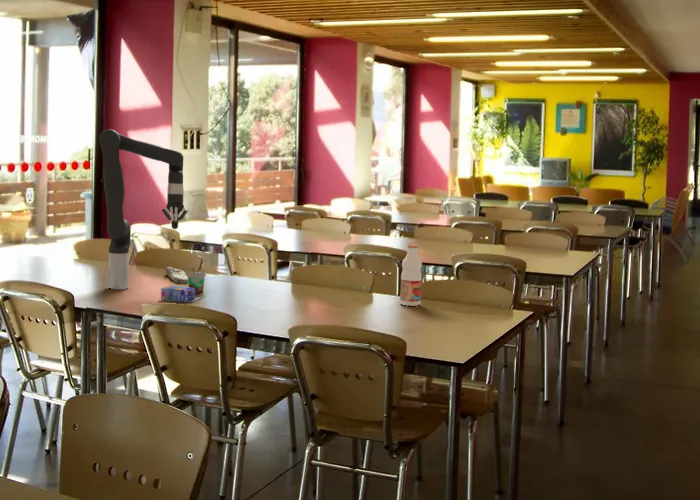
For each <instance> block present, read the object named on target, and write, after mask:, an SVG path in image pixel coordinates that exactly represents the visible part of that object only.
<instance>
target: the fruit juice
mask: <svg viewBox="0 0 700 500" xmlns="http://www.w3.org/2000/svg"><path fill="white" fill-rule="evenodd" d="M418 249H419V245H418V244H413V243H412V244H411V243H410V244H407V253H406V256H405V257H404V258H403V259H402V263H401V267H402V272H401V275H400V291H399V292H400V296H399V304H403V305H419V304H420V305H421V300H422V299H421V297H422V272H421V270H422V267H423V263H422V260H421V258H420V257H419V253H418Z"/></svg>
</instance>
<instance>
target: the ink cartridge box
mask: <svg viewBox="0 0 700 500" xmlns="http://www.w3.org/2000/svg"><path fill="white" fill-rule="evenodd" d="M196 292H197V291H196ZM195 297H196V294H195V288H192V287H189V286H180V285H179V286H178V285H167V286H164V287H161V288H160V300H162V301H163V300H164V301H166V300H172V301H171V302H177V301H182V302H181V303H186V302H185V301H188V300H192V299H195Z"/></svg>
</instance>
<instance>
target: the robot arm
mask: <svg viewBox="0 0 700 500" xmlns="http://www.w3.org/2000/svg"><path fill="white" fill-rule="evenodd" d="M99 144H100V149H101V153H102V159H103V167H102V168H103V172H102V173H103V174H102V175H103V189H104V195H105V196H104V197H105V206H106V216H107V217H106V230H107V233H108V236H109V237H110V244H109V246H108V268H107V269H106V289H109V288H111V289H110V290H127V288H128V289H129V286H130V285H129V273H130V272H129V271H130V270H129V266H130V265H129V263H130V262H129V259H130V258H129V257H130V256H129V252H130V246H131V234H132V233H131V230H132V229H131V226H130V225H131V224H130V222H129V221H128V220H127V219H125V218H124V210H123V209H124V208H123V206H124V199H125V187H126V186H125V179H124V172H123V168H122V164H121V161H120V160H121V159H120V151H126V152H129V153H133V154H136V155H137V156H141V157H143V158H147V159H150V160H154V161H156V162H157V161H158V162H159V161H160V162H162V163H165V164H168V177H167V194H166V195H167V199H166V200H167V201H166V202H167V204H166V207H164V208H162V209H161V212H162V213H163V214H164V216H165V217H166V218H167V220H169V221H171V228H172V230H177V229H178V228H179V221H182V220H183V219H184V218H185V217H186V215H187V214H188V213H189V209H186V208H185V206H184V192H185V191H184V172H183V171H184V155H183V154H182V152H180V151H179V150H174V149H171V148H166V147H163V146H161V145H159V144H154V143H151V142H147V141H142V140H139V139H138V140H137V139H133V138H130V137H128V136H126V135H123V134H121V133H119V132H117V131H116V130H114V129H111V128H110V129H109V128H107V129H105V130H103V131H102V132H101V133H100V135H99Z"/></svg>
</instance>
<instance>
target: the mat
mask: <svg viewBox="0 0 700 500" xmlns="http://www.w3.org/2000/svg"><path fill="white" fill-rule="evenodd" d="M203 298H204V297H203V296H195V299H192V300H188V301H185V302H184V303H196V302H197V301H199V300H202V299H203ZM165 301H166V302H173V301H172V300H165ZM176 302H178V303H179V302H180V303H183V302H182V301H176Z"/></svg>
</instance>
